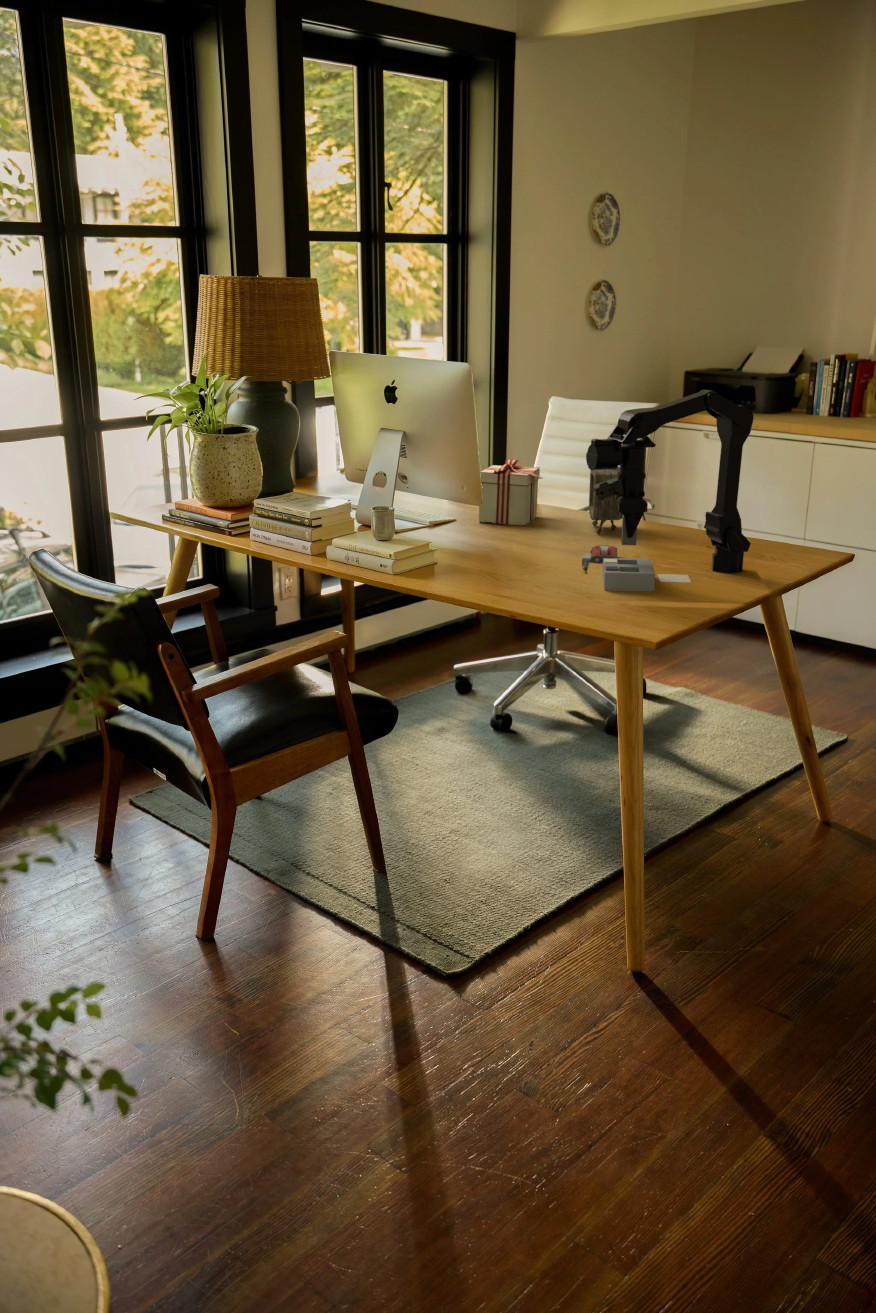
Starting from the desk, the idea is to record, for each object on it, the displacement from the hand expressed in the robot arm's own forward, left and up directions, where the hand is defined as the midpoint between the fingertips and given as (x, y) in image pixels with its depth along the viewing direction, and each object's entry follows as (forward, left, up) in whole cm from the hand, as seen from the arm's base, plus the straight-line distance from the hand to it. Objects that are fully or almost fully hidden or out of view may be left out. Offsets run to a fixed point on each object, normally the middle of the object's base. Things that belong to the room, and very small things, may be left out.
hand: (629, 535), depth 248 cm
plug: (0, 0, -2) cm, 2 cm away
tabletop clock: (+3, -58, -11) cm, 60 cm away
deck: (-11, -1, -11) cm, 16 cm away
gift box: (+30, -71, -11) cm, 78 cm away
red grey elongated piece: (+6, -18, -12) cm, 22 cm away
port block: (0, +4, -11) cm, 12 cm away
